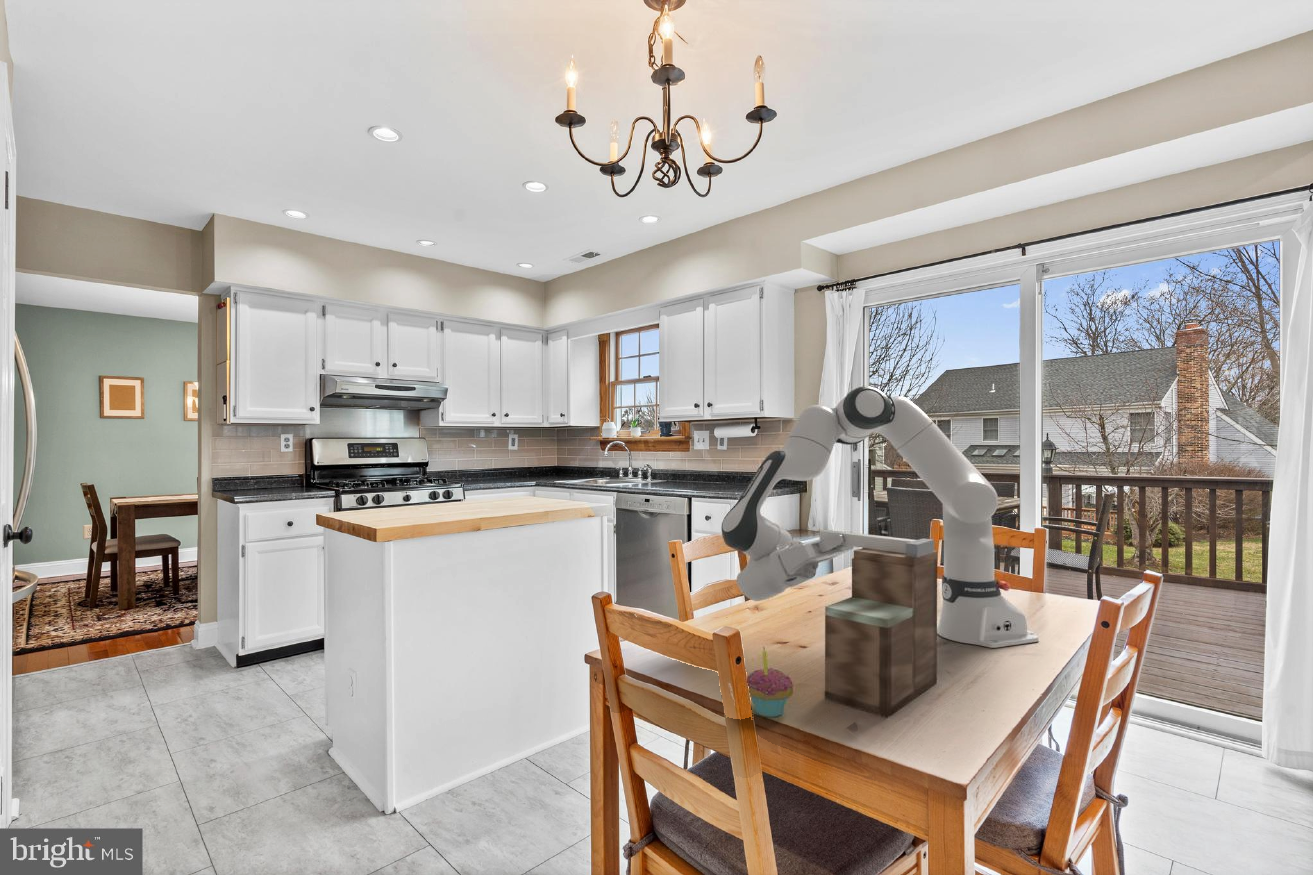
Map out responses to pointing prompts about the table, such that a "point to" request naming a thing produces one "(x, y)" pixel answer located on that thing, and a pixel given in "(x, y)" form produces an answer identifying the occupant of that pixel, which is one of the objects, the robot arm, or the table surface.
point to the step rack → (883, 633)
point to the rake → (883, 543)
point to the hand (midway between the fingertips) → (847, 536)
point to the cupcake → (769, 690)
